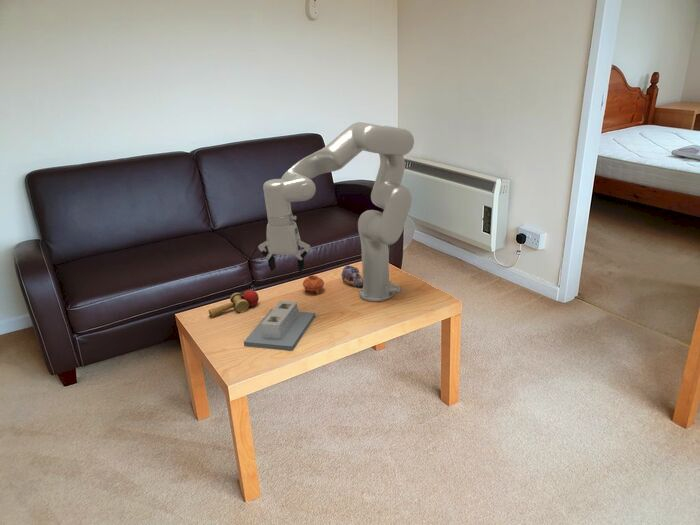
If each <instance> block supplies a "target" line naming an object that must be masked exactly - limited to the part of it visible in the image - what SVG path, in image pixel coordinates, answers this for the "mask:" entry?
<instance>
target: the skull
mask: <svg viewBox="0 0 700 525" xmlns="http://www.w3.org/2000/svg"><path fill="white" fill-rule="evenodd" d="M340 275H341V280H342V281H343V282H346V283H348V284H350V285H351V286H352V287H357V286H358V287H360V286H361V287H363V276H362V275H361V274H360V270H359V268H358V267H355V266H352V265H345V266H344V267H343V268H342V272H341V274H340Z"/></svg>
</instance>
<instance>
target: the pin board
mask: <svg viewBox="0 0 700 525" xmlns="http://www.w3.org/2000/svg"><path fill="white" fill-rule="evenodd" d="M273 309H274V308H273ZM273 309H272V308H271V309H270V310H269V311H268V312H267V314H266V315H265V316H264V317H263V318H262V320H261V321H260V322H258V324H257V326H255V328H254V329H253V330H251V332H250V333H249V335H248V336H246V339H245V340H244V341H243V345H244V347H250V348H251V347H252V348H263V349H271V350H283V351H291V352H292V351H294V349H295V348H296V346H297V345H298V344H299V342H300V340H301V339H302V337H303V336H304V335H305V333H306V331H307V330H308V329H309V327H310V325H311V324H312V322H313V320H315V318H316V313H315V312H311V311H310V312H309V311H302V310H301V311H300V310H298V317H297V318H296V320H295V321H294V322H293V324H292V325H291V326H290V328H289V329H288V330H287V332H286V333H285V334H284V336H283V337H282V339H281V340H279V339H268V338H263V336H262V329H261V323H262V322H263V321H264V320H265V318H266V317H267V316H268V315H269V314H270V313H271V311H272V310H273Z"/></svg>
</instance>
